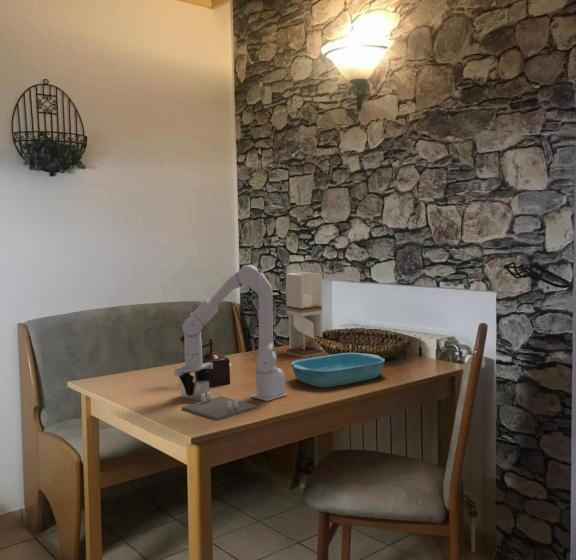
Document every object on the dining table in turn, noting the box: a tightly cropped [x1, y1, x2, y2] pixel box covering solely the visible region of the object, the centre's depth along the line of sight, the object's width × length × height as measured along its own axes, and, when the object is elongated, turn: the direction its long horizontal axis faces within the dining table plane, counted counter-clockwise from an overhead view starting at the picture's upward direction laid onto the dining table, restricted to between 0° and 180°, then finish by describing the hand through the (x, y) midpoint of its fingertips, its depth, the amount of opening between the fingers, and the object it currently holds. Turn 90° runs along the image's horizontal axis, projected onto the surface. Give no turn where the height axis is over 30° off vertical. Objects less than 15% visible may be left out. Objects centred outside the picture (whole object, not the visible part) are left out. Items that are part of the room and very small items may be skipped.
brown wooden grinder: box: [179, 334, 231, 388], centre depth 230 cm, size 16×11×18 cm
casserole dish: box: [290, 352, 386, 388], centre depth 234 cm, size 37×22×7 cm, turn 125°
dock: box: [181, 391, 258, 421], centre depth 199 cm, size 16×17×4 cm
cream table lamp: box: [285, 271, 324, 359], centre depth 277 cm, size 11×11×35 cm
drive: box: [179, 377, 210, 402], centre depth 213 cm, size 4×10×6 cm, turn 49°
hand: (194, 393), depth 213 cm, fingers closed on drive, 4 cm apart
